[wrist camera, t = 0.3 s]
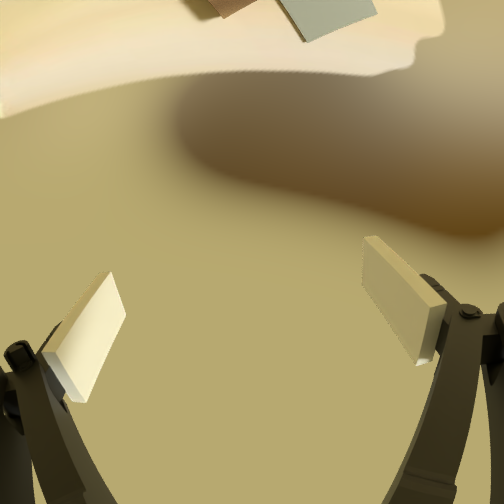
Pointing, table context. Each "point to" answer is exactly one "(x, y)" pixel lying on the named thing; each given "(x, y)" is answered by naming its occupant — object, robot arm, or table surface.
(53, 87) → the table surface
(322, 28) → the stub pad
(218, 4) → the perforated block
